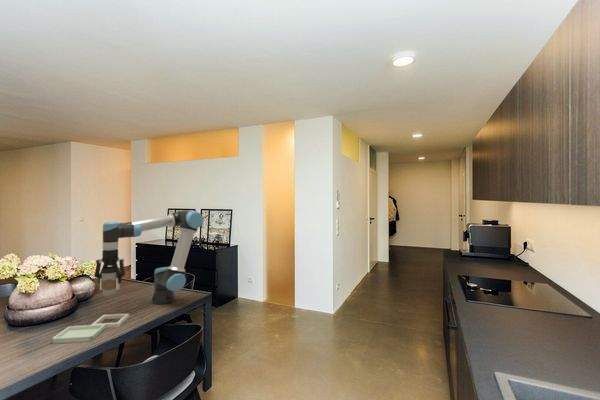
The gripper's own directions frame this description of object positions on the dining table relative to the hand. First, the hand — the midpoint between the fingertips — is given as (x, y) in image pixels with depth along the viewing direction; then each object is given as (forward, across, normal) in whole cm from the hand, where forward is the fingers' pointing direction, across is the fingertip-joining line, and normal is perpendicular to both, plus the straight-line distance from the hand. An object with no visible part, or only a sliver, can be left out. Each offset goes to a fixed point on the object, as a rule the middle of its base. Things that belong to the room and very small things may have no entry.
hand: (109, 289), depth 163 cm
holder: (+19, 0, -1) cm, 19 cm away
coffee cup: (+3, 0, 0) cm, 3 cm away
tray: (+19, +7, +14) cm, 25 cm away
